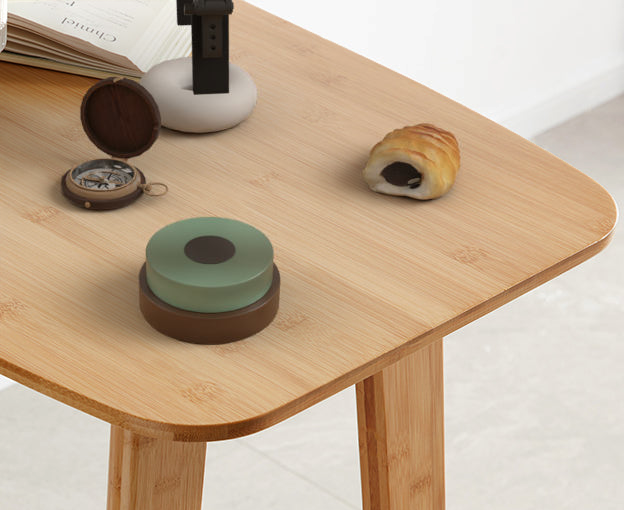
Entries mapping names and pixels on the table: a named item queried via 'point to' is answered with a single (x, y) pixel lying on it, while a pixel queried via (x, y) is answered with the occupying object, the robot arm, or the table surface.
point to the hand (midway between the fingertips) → (201, 56)
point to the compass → (114, 145)
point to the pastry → (414, 162)
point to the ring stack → (209, 281)
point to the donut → (198, 97)
